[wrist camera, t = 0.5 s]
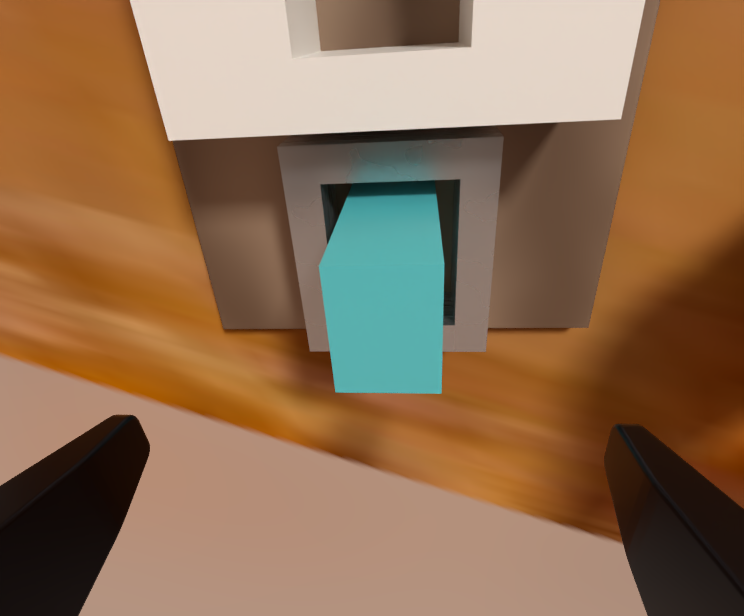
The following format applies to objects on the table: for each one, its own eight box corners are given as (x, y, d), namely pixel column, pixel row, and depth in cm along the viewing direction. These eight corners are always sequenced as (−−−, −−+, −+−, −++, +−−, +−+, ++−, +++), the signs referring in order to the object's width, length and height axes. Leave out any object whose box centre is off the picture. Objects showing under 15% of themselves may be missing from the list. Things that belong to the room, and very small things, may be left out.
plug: (434, 179, 17) (444, 264, 11) (433, 277, 19) (441, 393, 13) (352, 182, 17) (318, 266, 11) (360, 278, 19) (335, 392, 13)
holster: (491, 121, 16) (503, 136, 13) (478, 316, 20) (485, 351, 18) (295, 131, 16) (277, 146, 14) (321, 317, 20) (309, 351, 18)
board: (719, -356, 11) (745, -389, 10) (581, 315, 20) (588, 327, 19) (81, -264, 12) (56, -286, 12) (231, 317, 22) (223, 328, 21)
